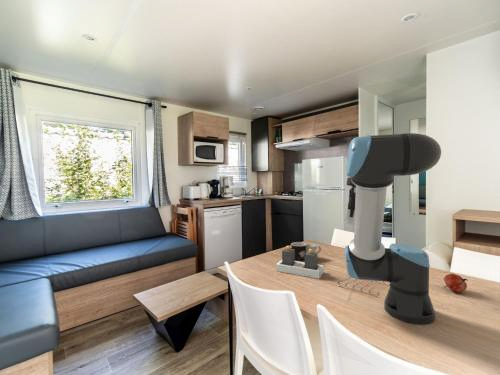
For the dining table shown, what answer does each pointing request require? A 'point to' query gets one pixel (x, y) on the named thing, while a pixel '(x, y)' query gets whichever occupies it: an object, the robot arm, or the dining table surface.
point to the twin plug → (311, 260)
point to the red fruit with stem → (455, 283)
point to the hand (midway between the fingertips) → (349, 222)
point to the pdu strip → (300, 269)
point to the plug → (288, 256)
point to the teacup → (311, 246)
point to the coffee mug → (299, 251)
